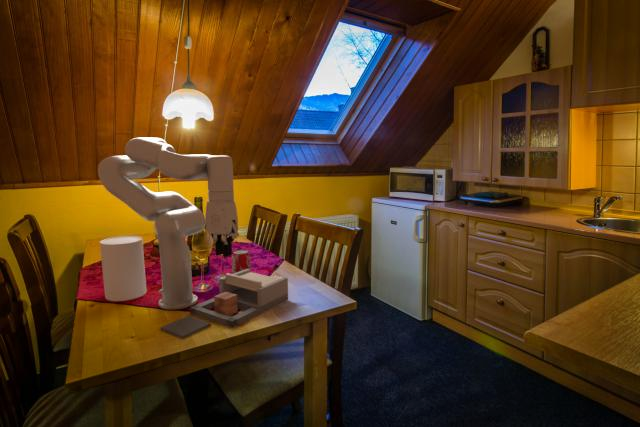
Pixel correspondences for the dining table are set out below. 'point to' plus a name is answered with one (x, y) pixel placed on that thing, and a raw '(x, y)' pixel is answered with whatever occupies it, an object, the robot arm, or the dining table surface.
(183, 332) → the mat
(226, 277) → the sliding lid
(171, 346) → the dining table surface
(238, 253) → the soda can
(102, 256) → the canister
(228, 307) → the block
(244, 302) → the gray box frame
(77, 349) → the dining table surface
